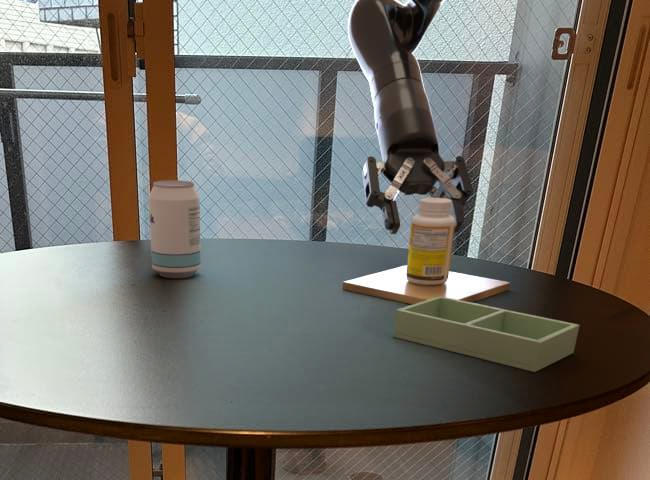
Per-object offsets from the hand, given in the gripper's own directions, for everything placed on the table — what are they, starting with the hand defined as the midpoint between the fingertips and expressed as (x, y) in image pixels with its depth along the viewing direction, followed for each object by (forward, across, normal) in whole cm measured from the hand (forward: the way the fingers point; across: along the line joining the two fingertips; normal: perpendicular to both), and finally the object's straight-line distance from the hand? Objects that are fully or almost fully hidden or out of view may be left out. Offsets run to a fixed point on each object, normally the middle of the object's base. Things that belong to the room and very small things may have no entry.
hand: (426, 229), depth 106 cm
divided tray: (+24, -4, -14) cm, 27 cm away
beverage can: (-3, -32, +14) cm, 35 cm away
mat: (+6, 0, +4) cm, 8 cm away
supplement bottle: (+6, 0, +3) cm, 7 cm away
